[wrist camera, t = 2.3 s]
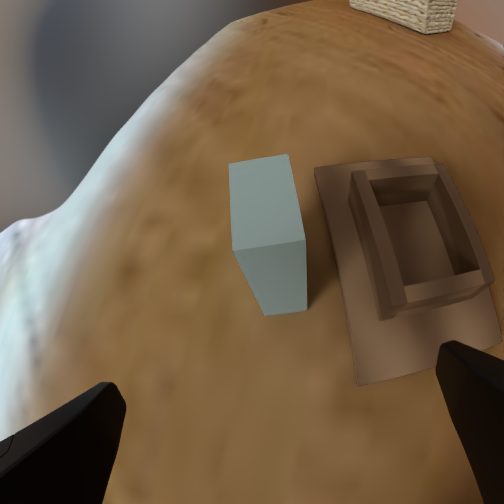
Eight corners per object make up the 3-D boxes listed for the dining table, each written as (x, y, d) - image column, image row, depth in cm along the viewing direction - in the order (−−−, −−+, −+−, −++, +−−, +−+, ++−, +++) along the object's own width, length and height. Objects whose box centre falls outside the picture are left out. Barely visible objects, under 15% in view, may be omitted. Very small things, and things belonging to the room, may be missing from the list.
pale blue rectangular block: (297, 248, 23) (287, 153, 14) (307, 310, 21) (305, 239, 12) (259, 254, 23) (228, 163, 15) (264, 316, 21) (232, 250, 12)
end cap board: (429, 163, 25) (440, 130, 21) (496, 344, 16) (528, 329, 12) (314, 175, 26) (313, 138, 22) (356, 386, 18) (370, 383, 14)
